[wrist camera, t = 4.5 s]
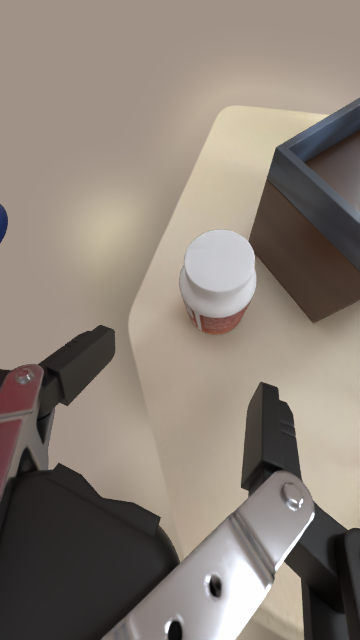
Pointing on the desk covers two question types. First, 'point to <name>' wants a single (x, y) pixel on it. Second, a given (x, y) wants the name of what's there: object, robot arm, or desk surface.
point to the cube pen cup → (314, 215)
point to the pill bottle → (218, 280)
